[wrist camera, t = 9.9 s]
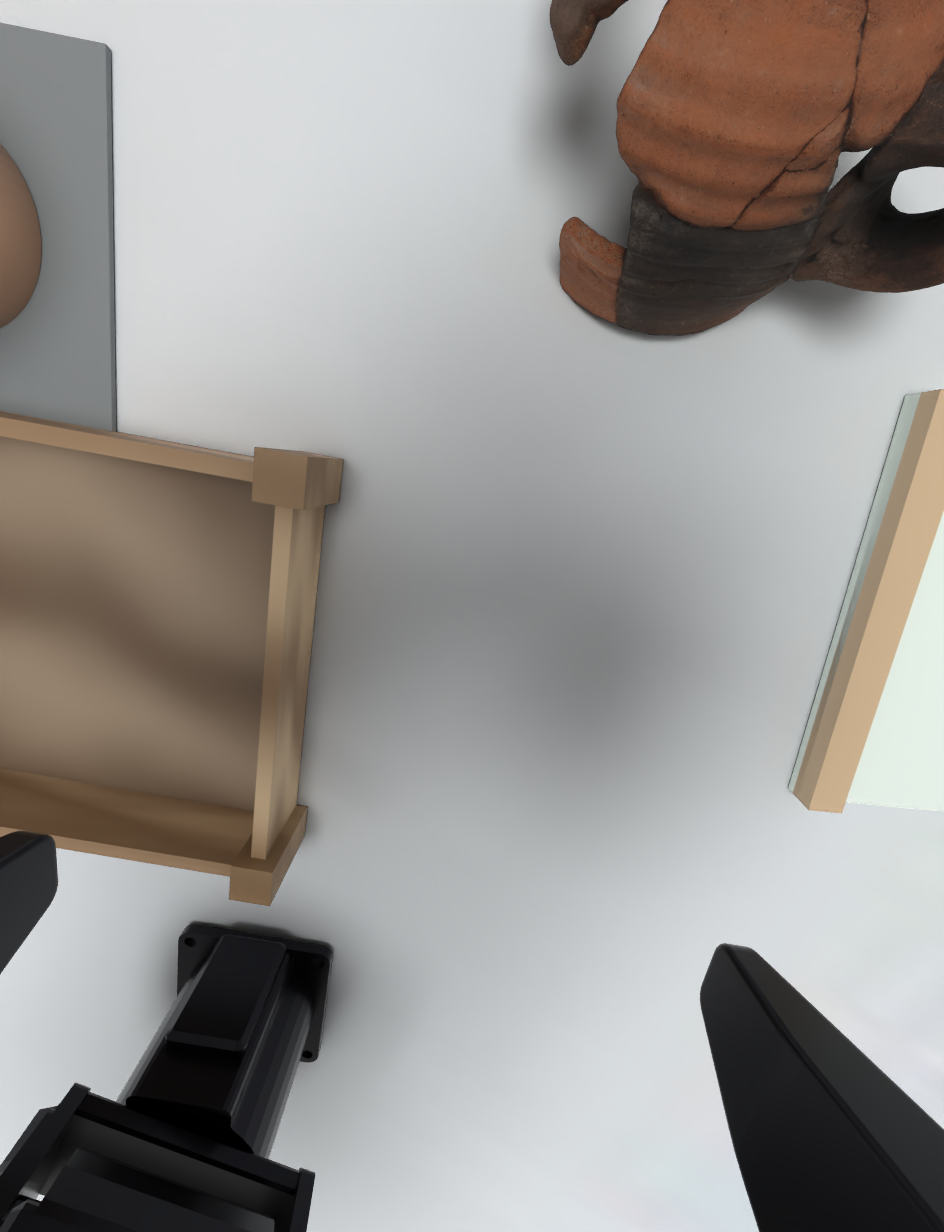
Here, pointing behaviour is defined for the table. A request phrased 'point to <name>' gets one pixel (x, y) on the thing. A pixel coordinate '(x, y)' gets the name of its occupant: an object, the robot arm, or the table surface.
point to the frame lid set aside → (888, 642)
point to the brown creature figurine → (763, 156)
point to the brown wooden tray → (157, 646)
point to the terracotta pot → (16, 241)
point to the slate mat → (62, 227)
